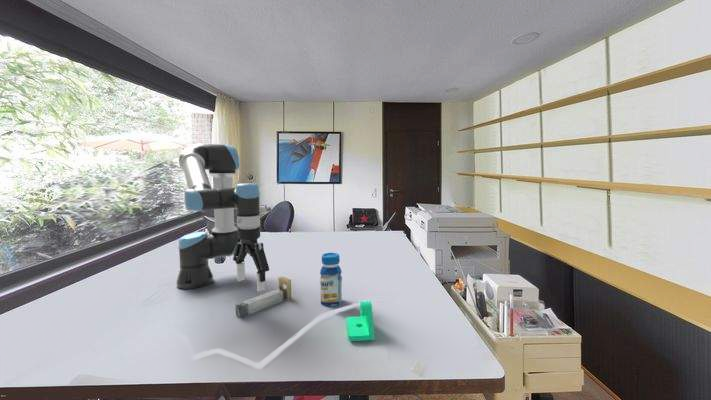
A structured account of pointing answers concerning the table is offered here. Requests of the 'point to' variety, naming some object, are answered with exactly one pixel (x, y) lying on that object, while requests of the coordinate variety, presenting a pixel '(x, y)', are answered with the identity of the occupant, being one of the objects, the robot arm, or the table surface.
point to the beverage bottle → (331, 280)
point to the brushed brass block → (288, 286)
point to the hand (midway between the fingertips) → (250, 285)
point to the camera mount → (361, 324)
